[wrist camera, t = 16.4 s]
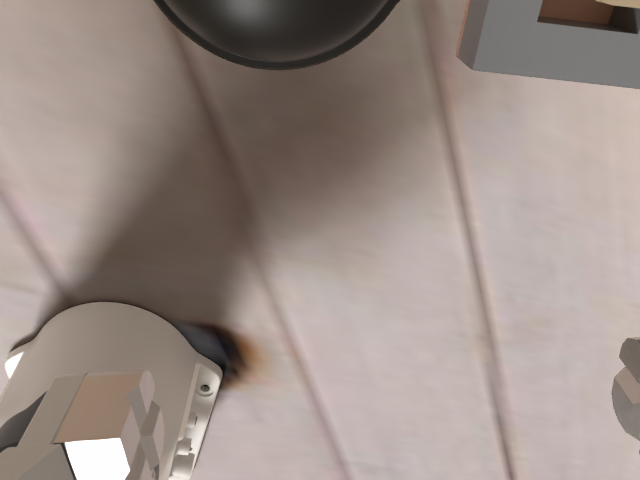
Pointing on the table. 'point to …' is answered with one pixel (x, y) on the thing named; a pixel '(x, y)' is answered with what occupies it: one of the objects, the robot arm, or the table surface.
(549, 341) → the table surface
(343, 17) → the water bottle
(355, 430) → the table surface
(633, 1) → the handle
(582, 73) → the socket block
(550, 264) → the table surface
